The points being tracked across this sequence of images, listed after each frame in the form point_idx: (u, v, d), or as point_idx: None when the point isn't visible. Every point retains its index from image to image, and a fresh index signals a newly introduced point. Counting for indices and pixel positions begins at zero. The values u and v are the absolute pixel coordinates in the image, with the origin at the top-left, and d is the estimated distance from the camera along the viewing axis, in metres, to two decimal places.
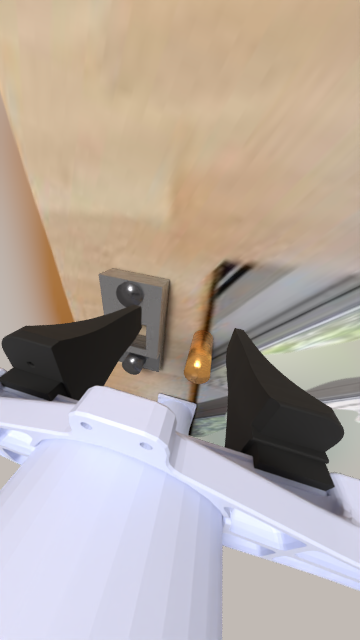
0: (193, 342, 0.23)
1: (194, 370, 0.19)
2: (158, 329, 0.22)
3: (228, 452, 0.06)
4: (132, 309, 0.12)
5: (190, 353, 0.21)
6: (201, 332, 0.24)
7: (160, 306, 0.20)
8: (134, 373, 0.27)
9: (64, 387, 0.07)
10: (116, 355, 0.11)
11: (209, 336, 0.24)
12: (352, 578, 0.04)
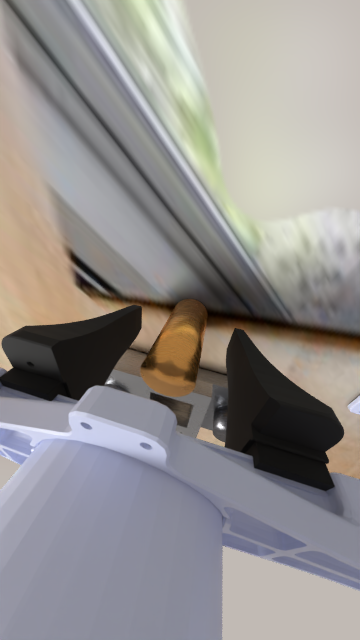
0: None
1: (156, 379, 0.09)
2: None
3: (228, 452, 0.06)
4: (132, 309, 0.12)
5: None
6: None
7: (119, 370, 0.16)
8: None
9: (64, 387, 0.07)
10: (116, 355, 0.11)
11: (174, 308, 0.14)
12: (352, 578, 0.04)
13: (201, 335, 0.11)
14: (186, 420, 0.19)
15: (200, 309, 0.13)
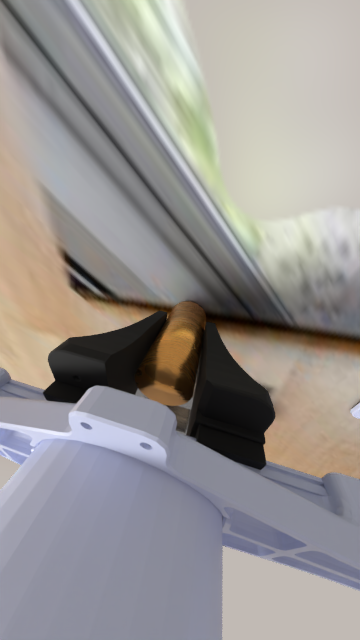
0: None
1: (151, 387, 0.08)
2: None
3: None
4: (159, 316, 0.11)
5: None
6: None
7: None
8: None
9: None
10: None
11: (172, 311, 0.13)
12: (352, 578, 0.04)
13: (199, 340, 0.10)
14: (185, 425, 0.18)
15: (198, 312, 0.12)
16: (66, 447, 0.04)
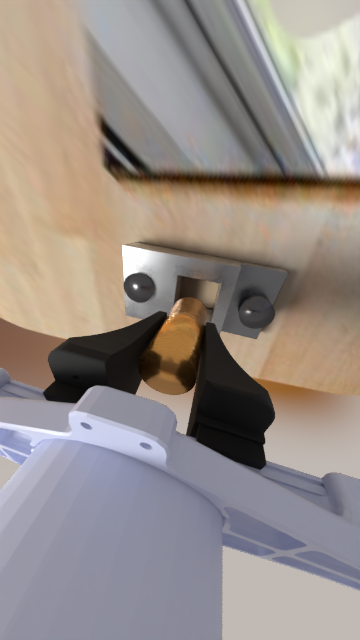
0: None
1: (154, 375, 0.08)
2: (181, 257, 0.16)
3: None
4: (159, 316, 0.11)
5: None
6: None
7: (147, 250, 0.16)
8: (271, 313, 0.16)
9: None
10: None
11: (173, 306, 0.13)
12: (352, 578, 0.04)
13: (201, 331, 0.11)
14: (210, 318, 0.19)
15: (199, 307, 0.13)
16: (66, 447, 0.04)
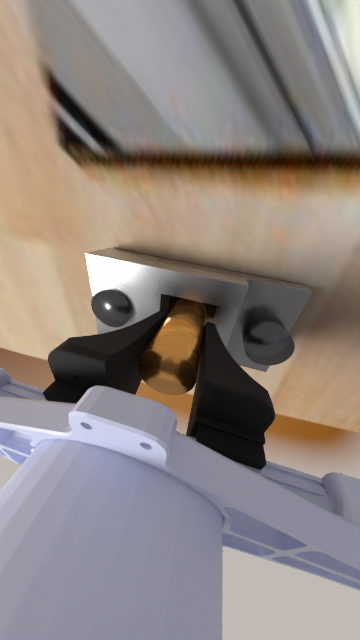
0: None
1: (154, 375, 0.08)
2: (165, 270, 0.11)
3: None
4: (159, 316, 0.11)
5: None
6: None
7: (118, 260, 0.12)
8: (290, 347, 0.11)
9: None
10: None
11: (173, 306, 0.13)
12: (352, 578, 0.04)
13: (201, 331, 0.11)
14: None
15: (199, 307, 0.13)
16: (66, 447, 0.04)
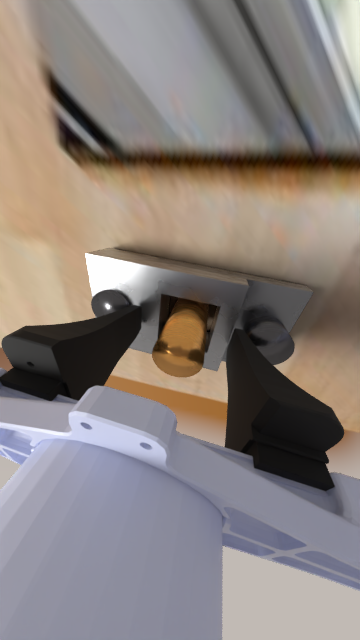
0: None
1: (167, 360, 0.10)
2: (165, 270, 0.11)
3: (228, 452, 0.06)
4: (132, 309, 0.12)
5: None
6: None
7: (118, 260, 0.12)
8: (290, 347, 0.11)
9: (64, 387, 0.07)
10: (116, 355, 0.11)
11: (177, 300, 0.14)
12: (352, 578, 0.04)
13: (205, 322, 0.12)
14: (206, 346, 0.15)
15: None
16: (66, 447, 0.04)
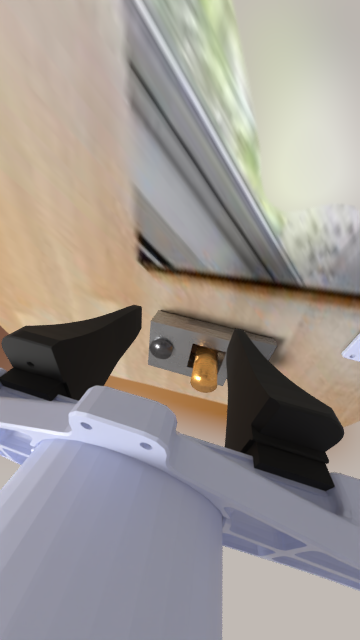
0: None
1: (197, 384, 0.19)
2: (196, 333, 0.21)
3: (228, 452, 0.06)
4: (132, 309, 0.12)
5: None
6: None
7: (170, 326, 0.21)
8: None
9: (64, 387, 0.07)
10: (116, 355, 0.11)
11: None
12: (352, 578, 0.04)
13: (216, 361, 0.21)
14: None
15: None
16: (66, 447, 0.04)
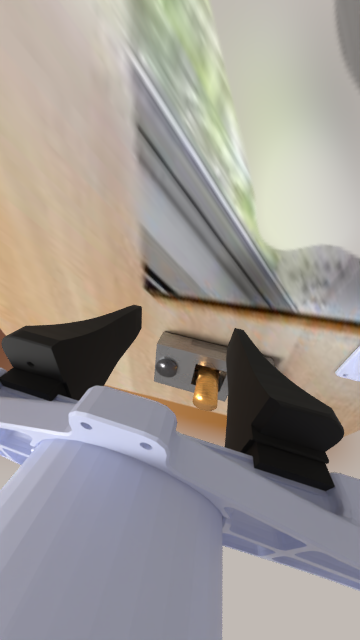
0: None
1: (199, 403, 0.21)
2: (199, 355, 0.22)
3: (228, 452, 0.06)
4: (132, 309, 0.12)
5: None
6: None
7: (174, 348, 0.23)
8: None
9: (64, 387, 0.07)
10: (116, 355, 0.11)
11: None
12: (352, 578, 0.04)
13: (217, 381, 0.23)
14: (218, 387, 0.26)
15: None
16: (66, 447, 0.04)
